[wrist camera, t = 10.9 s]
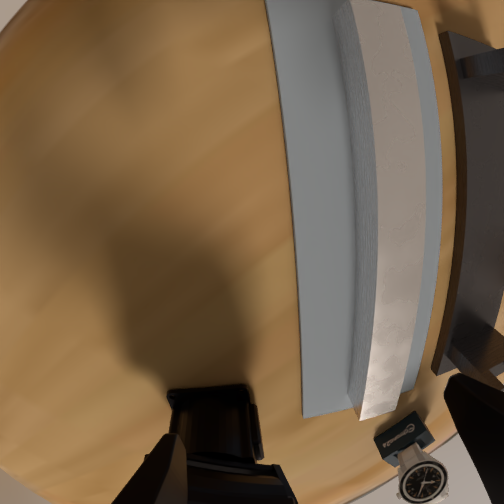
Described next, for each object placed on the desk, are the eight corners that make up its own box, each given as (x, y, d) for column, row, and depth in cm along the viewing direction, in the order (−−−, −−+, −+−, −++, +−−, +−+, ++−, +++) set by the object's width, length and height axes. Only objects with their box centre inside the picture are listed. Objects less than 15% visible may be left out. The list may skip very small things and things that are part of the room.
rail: (347, 394, 23) (359, 421, 20) (331, 18, 14) (349, -3, 11) (381, 385, 23) (395, 409, 20) (376, 23, 14) (399, 6, 11)
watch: (410, 404, 25) (456, 480, 15) (427, 427, 27) (465, 490, 17) (365, 434, 26) (400, 514, 16) (390, 452, 28) (420, 518, 18)
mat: (302, 414, 24) (303, 418, 23) (263, -5, 13) (264, -8, 13) (411, 385, 24) (413, 389, 24) (413, 12, 14) (417, 10, 13)
